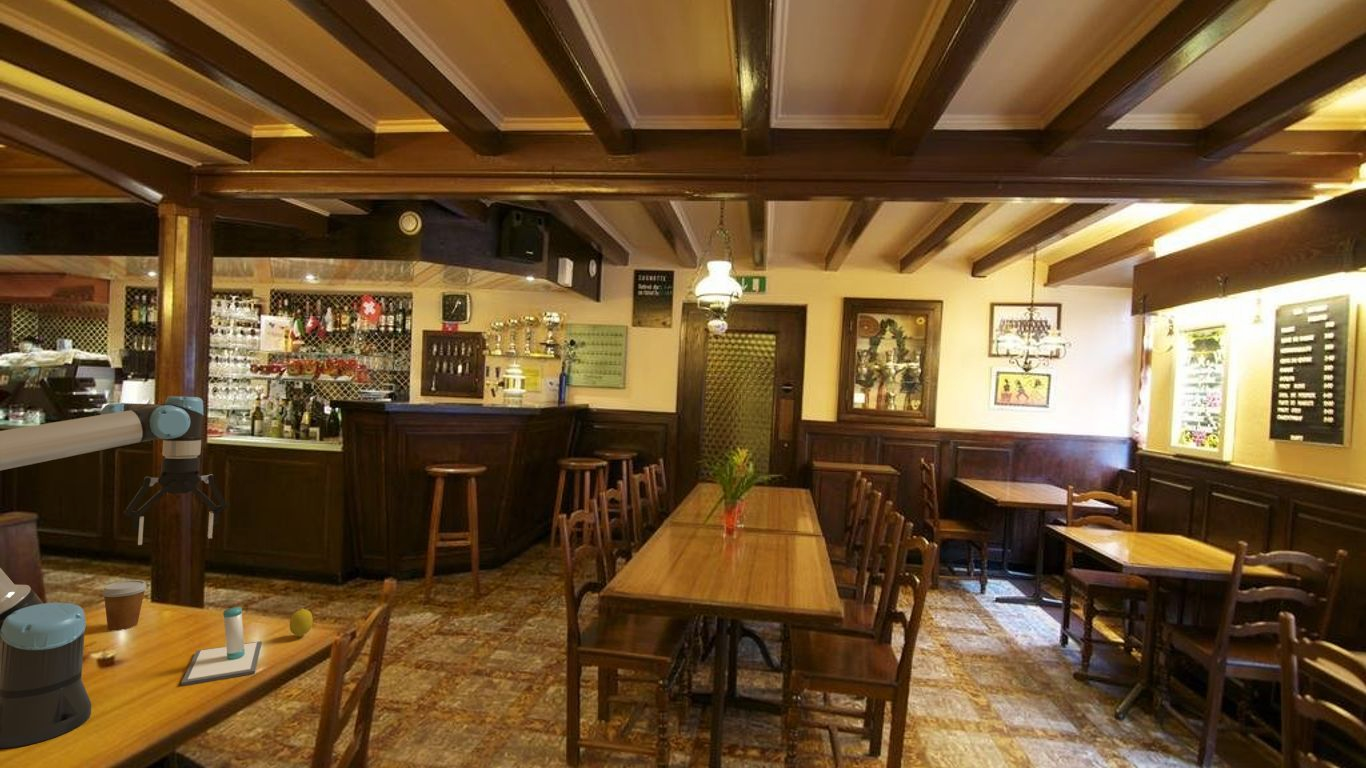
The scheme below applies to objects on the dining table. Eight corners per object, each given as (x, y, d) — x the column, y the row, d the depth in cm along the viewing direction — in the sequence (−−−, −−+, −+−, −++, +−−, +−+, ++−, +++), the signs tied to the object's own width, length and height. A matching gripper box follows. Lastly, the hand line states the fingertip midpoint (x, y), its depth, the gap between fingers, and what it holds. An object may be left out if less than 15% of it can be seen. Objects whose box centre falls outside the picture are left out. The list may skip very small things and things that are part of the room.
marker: (232, 660, 152) (229, 613, 151) (223, 658, 153) (219, 611, 153) (248, 653, 155) (245, 607, 155) (239, 651, 157) (235, 606, 156)
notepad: (181, 686, 140) (181, 681, 140) (196, 653, 157) (196, 649, 157) (254, 673, 147) (254, 669, 147) (261, 644, 165) (261, 640, 165)
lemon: (314, 637, 170) (316, 608, 170) (292, 642, 166) (293, 613, 166) (308, 631, 174) (310, 603, 174) (286, 636, 170) (287, 608, 170)
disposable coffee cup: (150, 625, 175) (152, 583, 175) (105, 635, 167) (108, 592, 167) (138, 618, 180) (140, 577, 180) (94, 627, 172) (97, 585, 172)
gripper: (240, 454, 165) (235, 532, 164) (115, 456, 148) (109, 543, 148) (243, 456, 159) (238, 537, 159) (113, 459, 143) (107, 549, 142)
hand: (175, 540), depth 153 cm, fingers open, 13 cm apart
